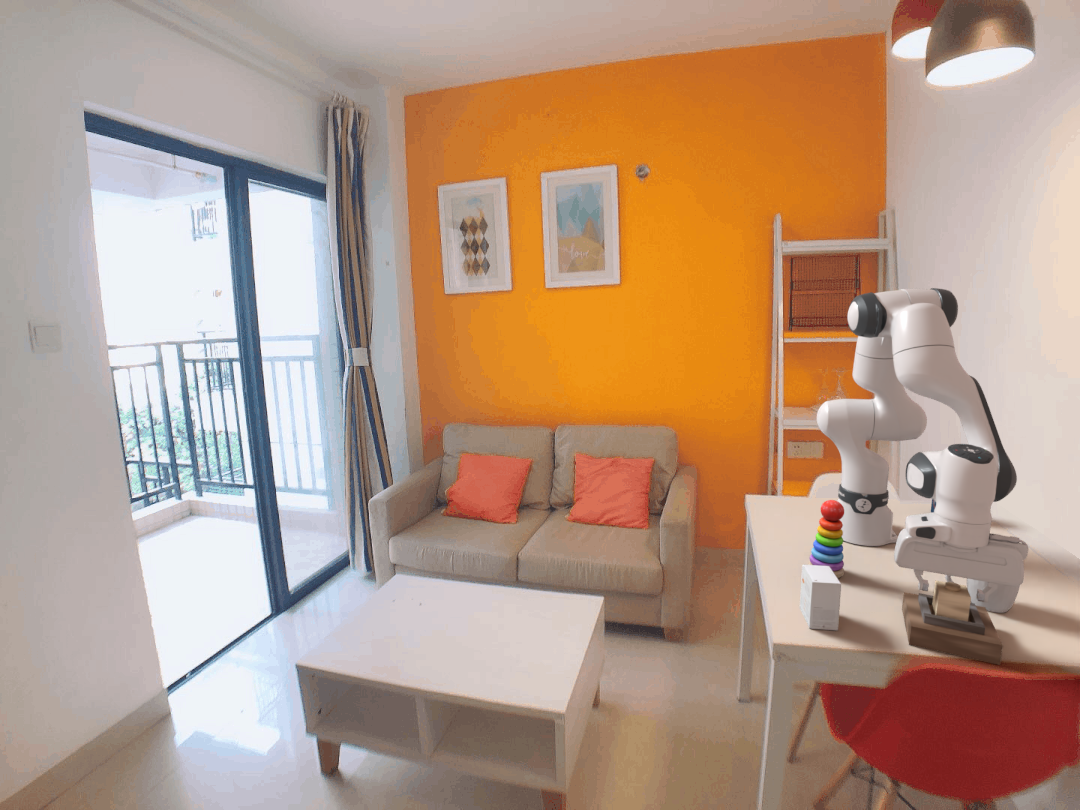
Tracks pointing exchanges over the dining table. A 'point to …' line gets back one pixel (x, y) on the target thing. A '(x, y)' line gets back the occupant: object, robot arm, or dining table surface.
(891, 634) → the dining table surface
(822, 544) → the stacking toy
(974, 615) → the base block
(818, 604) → the small box
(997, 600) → the mug
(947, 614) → the maple brick
